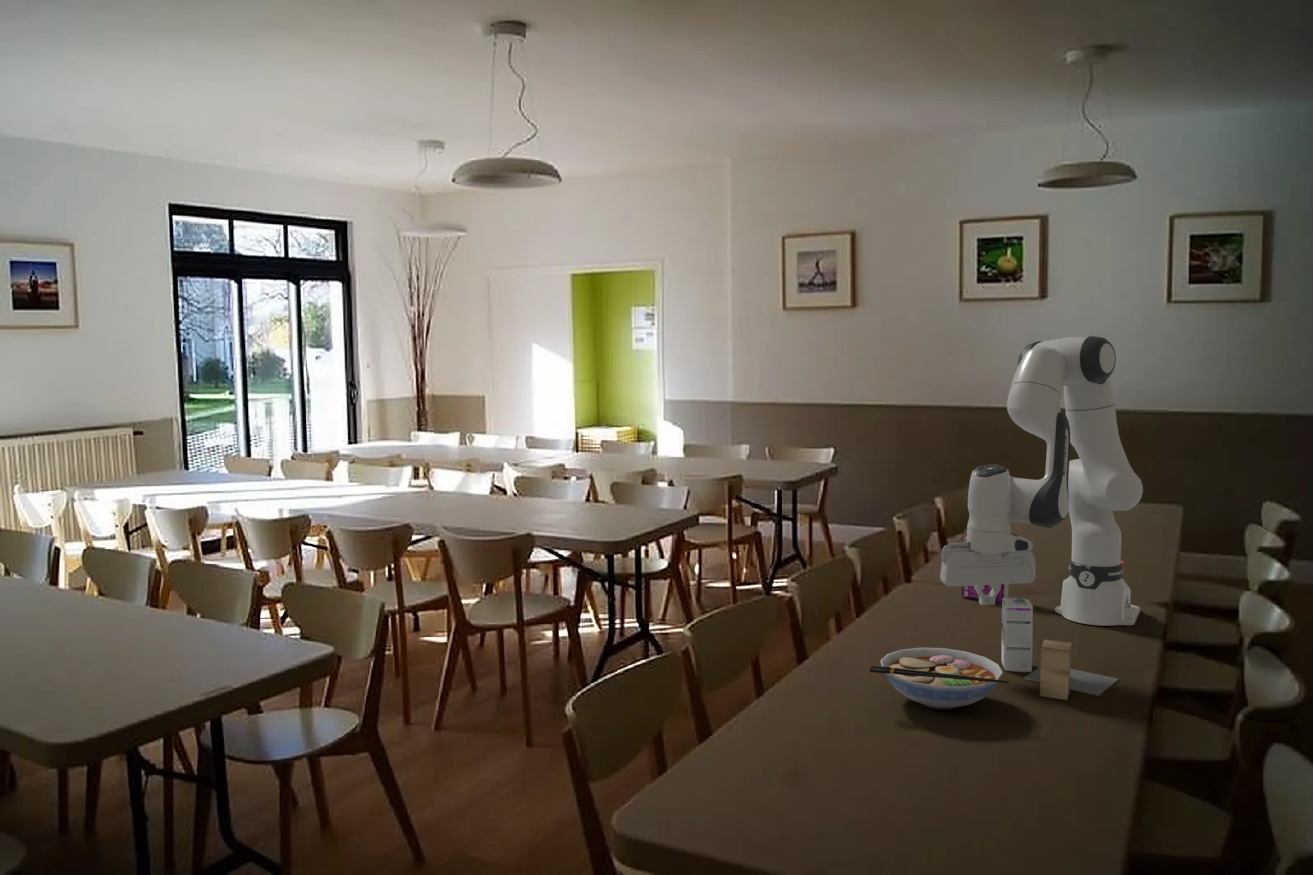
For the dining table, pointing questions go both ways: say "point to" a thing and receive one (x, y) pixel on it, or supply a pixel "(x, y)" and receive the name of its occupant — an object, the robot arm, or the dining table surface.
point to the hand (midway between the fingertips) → (986, 604)
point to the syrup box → (1017, 634)
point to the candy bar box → (972, 594)
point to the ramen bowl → (940, 676)
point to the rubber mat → (1081, 681)
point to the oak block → (1055, 669)
